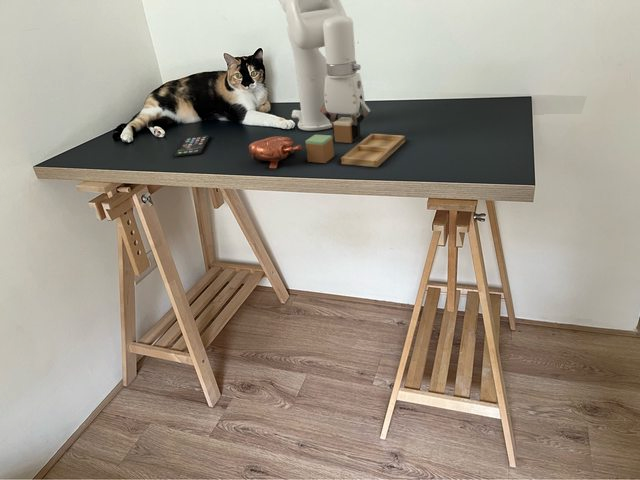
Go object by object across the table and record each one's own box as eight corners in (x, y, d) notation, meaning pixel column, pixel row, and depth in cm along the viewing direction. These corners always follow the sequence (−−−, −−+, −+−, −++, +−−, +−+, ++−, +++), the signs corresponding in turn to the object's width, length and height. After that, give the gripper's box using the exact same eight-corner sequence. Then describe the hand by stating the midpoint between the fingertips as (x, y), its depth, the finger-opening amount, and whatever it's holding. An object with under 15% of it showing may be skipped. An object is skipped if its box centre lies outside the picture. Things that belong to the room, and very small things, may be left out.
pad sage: (307, 161, 125) (305, 140, 122) (317, 154, 128) (315, 134, 125) (325, 163, 122) (322, 142, 119) (334, 156, 126) (332, 135, 123)
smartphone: (174, 154, 138) (185, 137, 151) (174, 157, 138) (186, 139, 151) (200, 152, 138) (209, 135, 151) (200, 154, 138) (210, 137, 151)
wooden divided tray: (341, 163, 121) (340, 157, 120) (371, 139, 134) (371, 133, 134) (377, 167, 116) (377, 161, 116) (405, 141, 130) (405, 135, 129)
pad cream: (335, 141, 136) (333, 122, 133) (343, 136, 139) (341, 116, 136) (351, 143, 133) (349, 123, 130) (359, 137, 137) (357, 117, 134)
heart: (238, 145, 122) (296, 145, 118) (255, 133, 132) (309, 133, 129) (241, 168, 124) (298, 169, 121) (258, 155, 135) (311, 155, 131)
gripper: (377, 66, 126) (380, 134, 135) (319, 66, 134) (326, 131, 143) (365, 72, 120) (369, 144, 129) (305, 72, 128) (313, 139, 137)
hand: (346, 136), depth 136 cm, fingers closed on pad cream, 5 cm apart
